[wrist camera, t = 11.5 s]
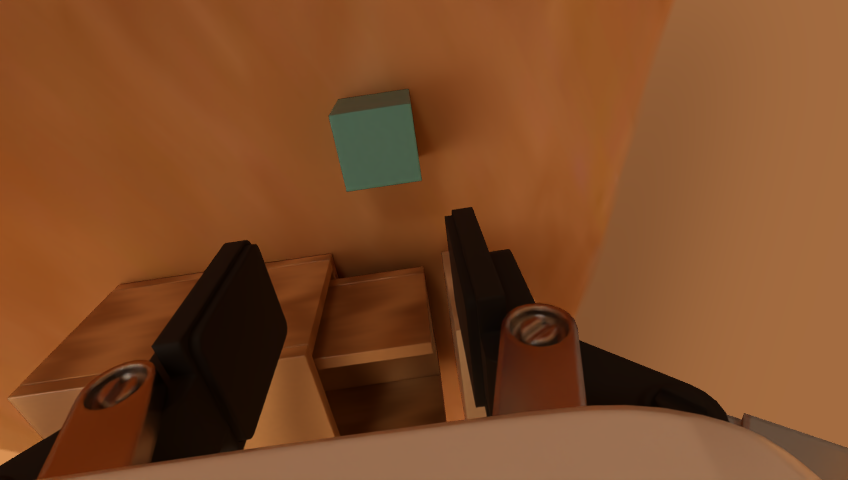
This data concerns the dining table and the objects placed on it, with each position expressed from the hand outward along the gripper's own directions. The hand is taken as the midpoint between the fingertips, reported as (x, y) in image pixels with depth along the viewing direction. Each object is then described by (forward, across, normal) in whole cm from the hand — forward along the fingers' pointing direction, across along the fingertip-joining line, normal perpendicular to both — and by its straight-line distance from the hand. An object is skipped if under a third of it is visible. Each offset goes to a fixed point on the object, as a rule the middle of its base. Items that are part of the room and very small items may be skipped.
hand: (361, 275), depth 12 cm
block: (+15, 0, 0) cm, 15 cm away
